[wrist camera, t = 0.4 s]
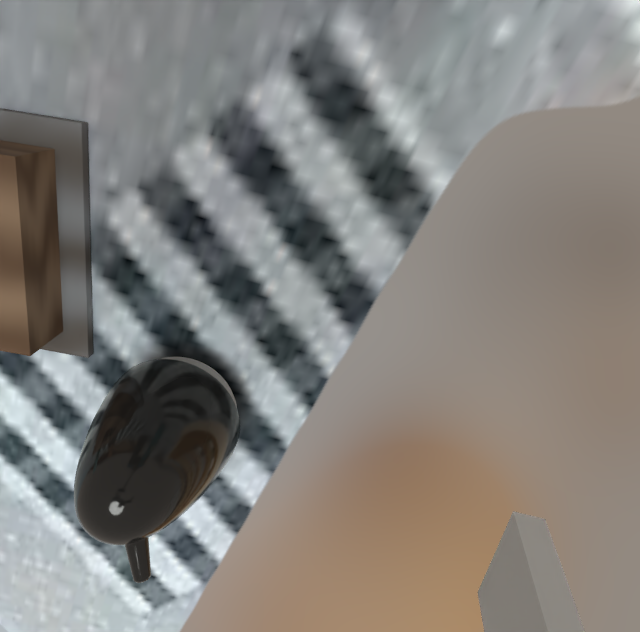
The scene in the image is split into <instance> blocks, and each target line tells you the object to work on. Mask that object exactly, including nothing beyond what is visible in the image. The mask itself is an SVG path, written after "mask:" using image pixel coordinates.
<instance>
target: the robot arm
mask: <svg viewBox="0 0 640 632" xmlns="http://www.w3.org/2000/svg"><path fill="white" fill-rule="evenodd" d="M478 597H479V603H480V608H481V615H482V621H483V626H484V632H585V630H584V627H583V624H582V622H581V619H580V616H579V613H578V611H577V607H576V605H575V602H574V599H573V596H572V594H571V591H570V588H569V585H568V582H567V579H566V577H565V574H564V571H563V568H562V565H561V563H560V560H559V557H558V554H557V551H556V548H555V546H554V543H553V540H552V537H551V535H550V532H549V529H548V526H547V524H546V520H545V519H543V518H539V517H535V516H530V515H526V514H522V513H518V512H513V513H512V515H511V518H510V520H509V522H508V525H507V527H506V529H505V531H504V534H503V536H502V538H501V540H500V543H499V545H498V548H497V550H496V552H495V554H494V556H493V559H492V561H491V563H490V566H489V568H488V570H487V572H486V575H485V577H484V579H483V581H482V584H481V586H480V588H479V591H478Z"/></svg>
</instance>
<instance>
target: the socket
mask: <svg viewBox="0 0 640 632" xmlns="http://www.w3.org/2000/svg"><path fill="white" fill-rule="evenodd" d="M39 349H43V350H49V351H54V352H60V353H65V354H70V355H76V356H81V357H87V358H89V357H90V356H91V355H92V354H93V325H92V285H91V246H90V206H89V166H88V127H87V122H81V121H75V120H69V119H62V118H56V117H50V116H44V115H38V114H31V113H25V112H19V111H13V110H7V109H0V351H6V352H11V353H17V354H22V355H27V356H31V355H32V354H34V353H35V352H36V351H38V350H39Z"/></svg>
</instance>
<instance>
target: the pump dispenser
mask: <svg viewBox="0 0 640 632" xmlns="http://www.w3.org/2000/svg"><path fill="white" fill-rule="evenodd" d="M239 433H240V419H239V414H238V410H237V405H236V401H235V398H234V395H233V393H232V391H231V389H230V387H229V385H228V384H227V382H226V381H225V380H224V379H223V377H222V376H221V375H220V374H219V373H217V372H216V371H215V370H214V369H212V368H211V367H209V366H208V365H206V364H204V363H202V362H200V361H197V360H194V359H190V358H185V357H165V358H160V359H156V360H151V361H146V362H143V363H140V364H138V365H136V366H134V367H132V368H131V369H129V370H128V371H127V372H126V373H124V374H123V375H122V376H121V377H120V378H119V380H118V381H117V382H116V383H115V384H114V386H113V387H112V388H111V390H110V391H109V393H108V394H107V396H106V397H105V399H104V401H103V403H102V404H101V406H100V408H99V410H98V411H97V413H96V415H95V417H94V419H93V422H92V424H91V426H90V429H89V431H88V434H87V436H86V439H85V442H84V445H83V448H82V451H81V455H80V458H79V462H78V466H77V471H76V476H75V483H74V503H75V510H76V514H77V517H78V520H79V522H80V524H81V526H82V527H83V528H84V530H85V531H86V532H87V533H88V534H89V535H90V536H92V537H93V538H95V539H96V540H98V541H100V542H103V543H106V544H111V545H125V547H126V551H127V555H128V559H129V563H130V568H131V572H132V576H133V580H134V581H135V582H138V583H141V582H144V581H146V580H148V579H149V578H150V576H151V568H150V555H149V541H148V537H149V536H152V535H154V534H156V533H158V532H159V531H161V530H162V529H164V528H165V527H167V526H168V525H169V524H171V523H172V522H174V521H175V520H176V519H177V518H179V517H180V516H181V515H182V514H183V513H185V512H186V511H187V510H188V509H189V508H190V507H191V506H192V505H193V504H194V503H195V502H196V501H197V500H198V499H199V498H200V497H201V496H202V495H203V494H204V493H205V492H206V491H207V489H208V488H209V487H210V486H211V484H212V483H213V482H214V481H215V479H216V478H217V477H218V475H219V474H220V472H221V471H222V469H223V468H224V467H225V465H226V464H227V462H228V460H229V459H230V457H231V455H232V453H233V451H234V449H235V447H236V444H237V441H238V438H239Z"/></svg>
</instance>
